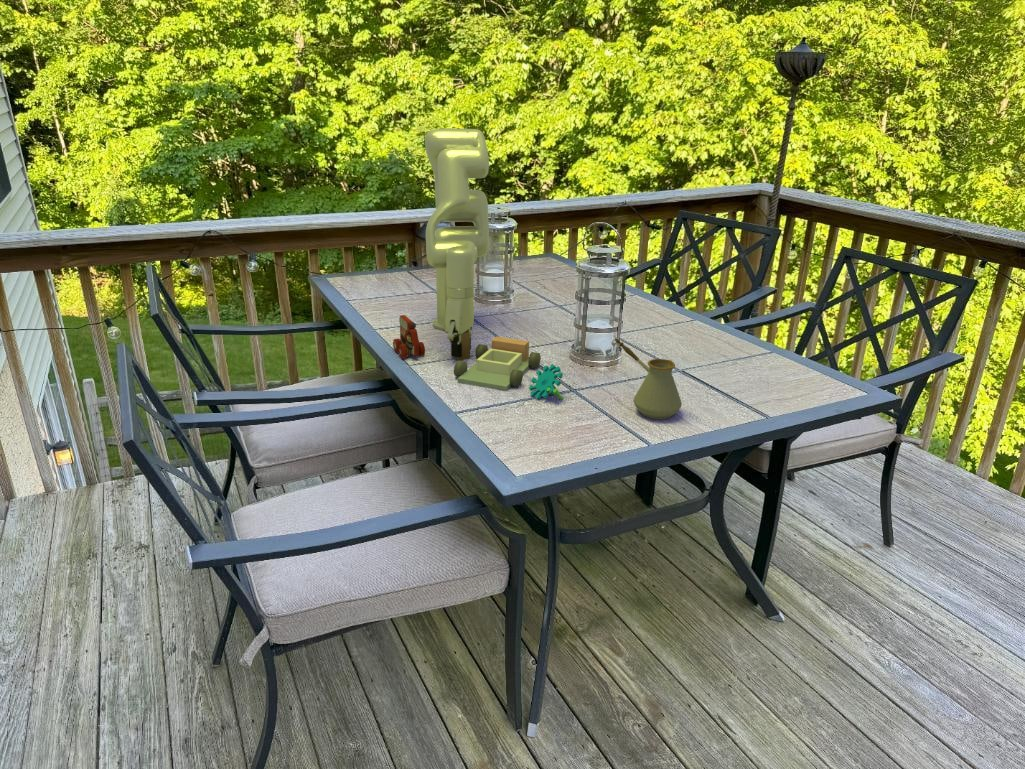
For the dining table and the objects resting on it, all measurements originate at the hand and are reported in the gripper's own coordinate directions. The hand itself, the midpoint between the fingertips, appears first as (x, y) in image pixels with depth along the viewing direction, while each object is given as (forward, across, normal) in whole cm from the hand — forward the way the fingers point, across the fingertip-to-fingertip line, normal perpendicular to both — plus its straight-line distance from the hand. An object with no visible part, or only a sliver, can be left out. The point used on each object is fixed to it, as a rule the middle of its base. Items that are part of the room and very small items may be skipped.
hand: (461, 352), depth 210 cm
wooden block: (+2, 0, 0) cm, 2 cm away
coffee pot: (+2, +12, +55) cm, 56 cm away
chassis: (+1, +6, +14) cm, 15 cm away
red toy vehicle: (+2, +3, -15) cm, 15 cm away
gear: (+2, +16, +31) cm, 35 cm away
